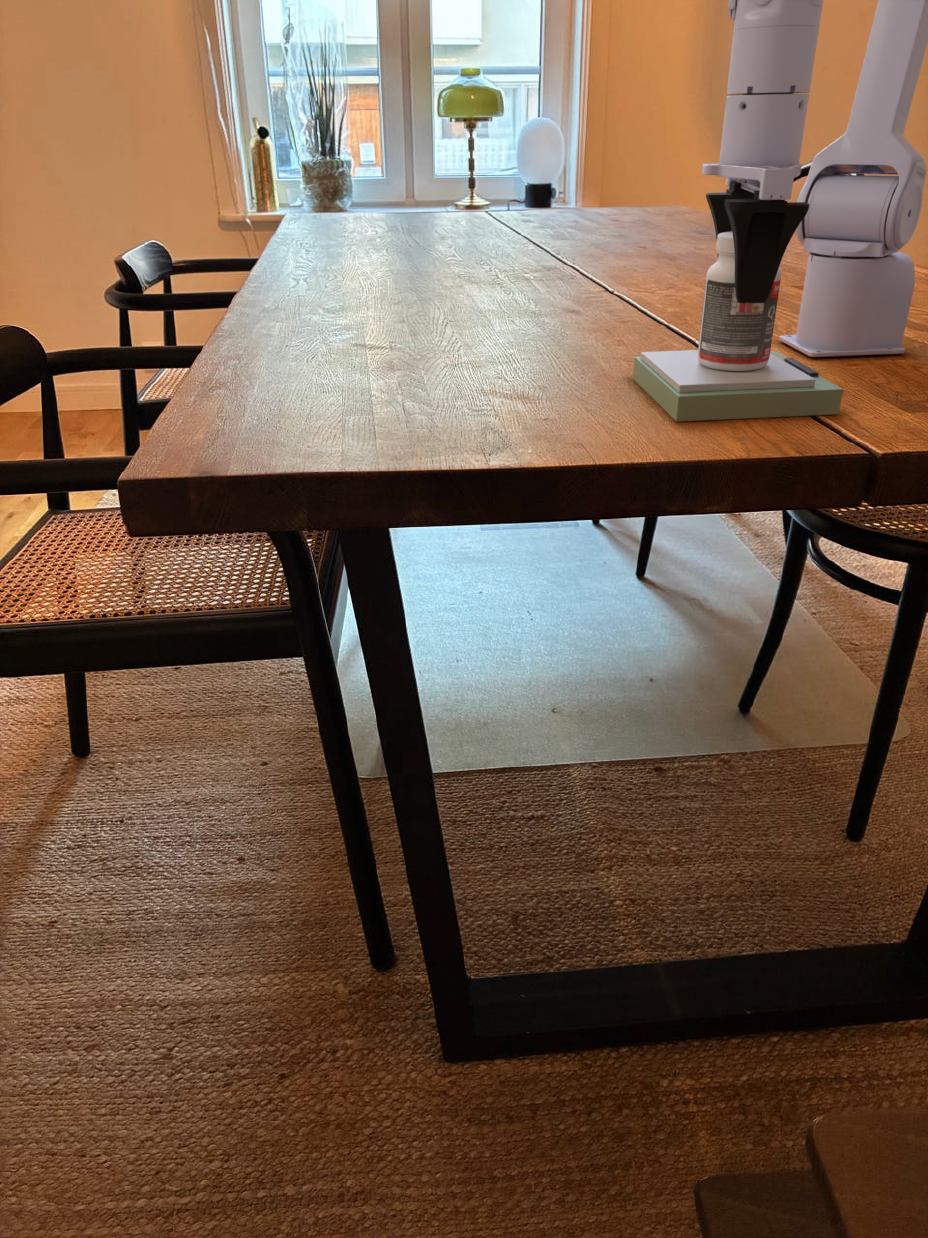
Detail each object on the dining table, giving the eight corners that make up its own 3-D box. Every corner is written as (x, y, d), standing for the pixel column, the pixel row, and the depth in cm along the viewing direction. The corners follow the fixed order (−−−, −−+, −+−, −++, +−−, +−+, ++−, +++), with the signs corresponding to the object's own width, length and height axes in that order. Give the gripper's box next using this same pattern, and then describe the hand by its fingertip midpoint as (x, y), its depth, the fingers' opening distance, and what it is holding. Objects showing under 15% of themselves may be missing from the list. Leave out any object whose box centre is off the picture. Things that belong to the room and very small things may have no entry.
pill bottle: (777, 372, 71) (799, 237, 66) (707, 373, 71) (722, 239, 66) (755, 355, 76) (773, 228, 71) (689, 356, 76) (702, 230, 71)
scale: (773, 373, 81) (777, 344, 80) (838, 414, 69) (845, 381, 68) (632, 379, 80) (634, 349, 79) (676, 421, 69) (679, 388, 67)
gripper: (696, 97, 71) (679, 279, 77) (727, 93, 58) (703, 310, 65) (787, 95, 70) (762, 278, 77) (839, 91, 57) (803, 310, 64)
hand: (741, 293), depth 71 cm, fingers open, 7 cm apart
